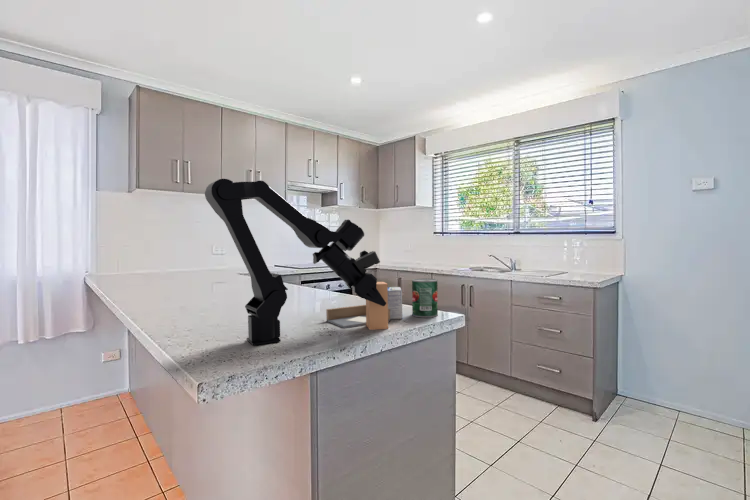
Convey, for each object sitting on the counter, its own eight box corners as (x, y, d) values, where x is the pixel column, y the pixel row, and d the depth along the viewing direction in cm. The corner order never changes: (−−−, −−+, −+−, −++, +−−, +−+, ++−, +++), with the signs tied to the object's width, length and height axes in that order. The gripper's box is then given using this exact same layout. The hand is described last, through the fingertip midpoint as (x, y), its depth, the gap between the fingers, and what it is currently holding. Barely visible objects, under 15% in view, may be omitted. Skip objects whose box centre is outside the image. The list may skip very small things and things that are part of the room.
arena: (343, 328, 108) (343, 315, 108) (326, 321, 117) (326, 309, 117) (390, 321, 116) (390, 309, 116) (370, 315, 125) (370, 304, 125)
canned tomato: (407, 314, 127) (407, 279, 126) (429, 311, 130) (429, 277, 129) (420, 318, 119) (419, 281, 119) (442, 316, 122) (442, 280, 122)
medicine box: (402, 319, 119) (402, 290, 118) (387, 319, 119) (387, 290, 118) (401, 314, 127) (401, 286, 126) (387, 314, 127) (386, 286, 126)
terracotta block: (369, 329, 106) (369, 284, 105) (366, 325, 111) (365, 282, 110) (388, 328, 107) (387, 283, 106) (383, 324, 112) (383, 281, 111)
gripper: (367, 241, 98) (411, 284, 101) (355, 240, 116) (393, 277, 119) (336, 274, 97) (381, 317, 99) (329, 268, 115) (367, 305, 118)
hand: (381, 302), depth 109 cm, fingers open, 8 cm apart
